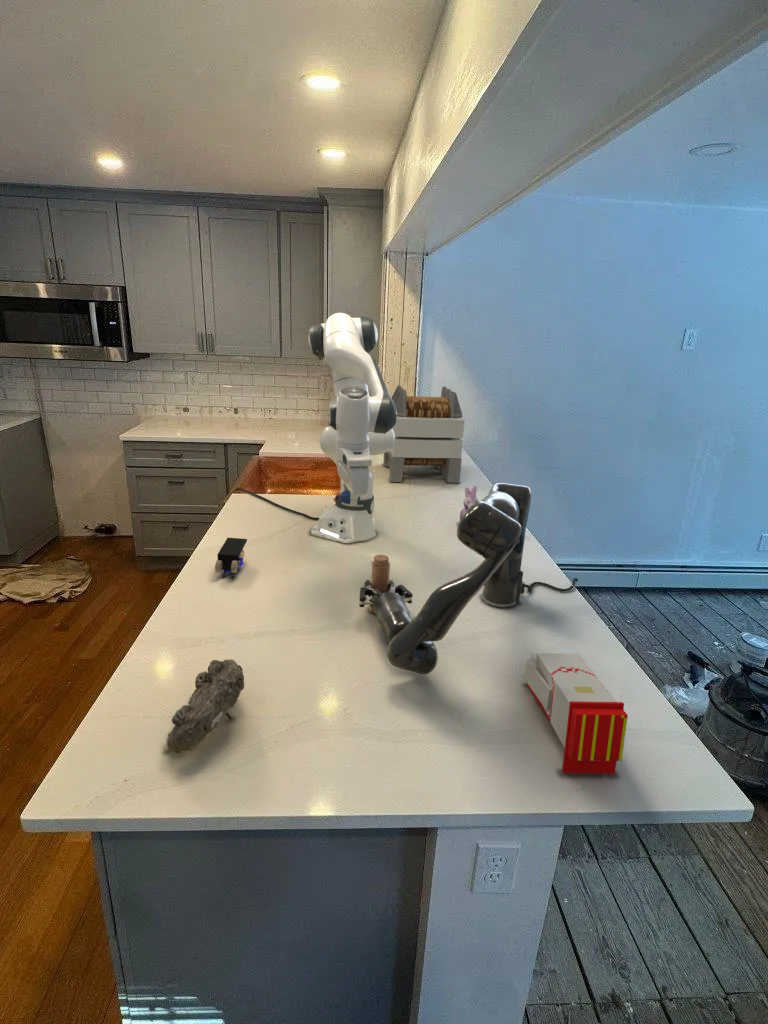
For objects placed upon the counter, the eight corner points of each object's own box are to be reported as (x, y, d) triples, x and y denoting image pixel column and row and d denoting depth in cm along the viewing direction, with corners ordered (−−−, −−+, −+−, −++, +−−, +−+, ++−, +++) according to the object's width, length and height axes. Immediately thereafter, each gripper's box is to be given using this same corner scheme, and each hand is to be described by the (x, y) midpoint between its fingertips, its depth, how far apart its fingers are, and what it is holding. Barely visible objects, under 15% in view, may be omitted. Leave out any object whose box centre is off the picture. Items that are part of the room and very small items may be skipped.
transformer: (382, 463, 289) (386, 382, 275) (445, 464, 293) (451, 384, 279) (390, 482, 257) (394, 392, 243) (460, 483, 261) (468, 394, 247)
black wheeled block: (238, 584, 162) (249, 557, 175) (236, 562, 158) (247, 536, 172) (215, 584, 161) (227, 556, 175) (212, 561, 158) (225, 535, 171)
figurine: (467, 532, 204) (471, 492, 198) (451, 522, 212) (455, 484, 207) (488, 528, 208) (493, 489, 203) (472, 519, 216) (476, 482, 211)
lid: (336, 498, 154) (336, 492, 153) (352, 495, 157) (353, 489, 156) (347, 504, 150) (347, 498, 149) (363, 501, 153) (364, 495, 152)
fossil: (192, 660, 117) (244, 628, 112) (224, 691, 120) (276, 661, 115) (142, 746, 98) (202, 712, 93) (182, 779, 101) (242, 748, 96)
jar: (391, 612, 148) (393, 559, 143) (374, 615, 146) (376, 562, 141) (382, 603, 152) (385, 552, 147) (366, 607, 150) (368, 555, 145)
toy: (573, 635, 123) (638, 710, 94) (567, 691, 126) (628, 782, 97) (518, 633, 123) (565, 709, 93) (513, 690, 125) (557, 781, 96)
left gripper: (332, 441, 157) (331, 489, 162) (349, 462, 139) (347, 515, 143) (354, 441, 158) (352, 488, 163) (373, 461, 140) (371, 513, 145)
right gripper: (423, 598, 134) (404, 567, 150) (364, 603, 131) (350, 571, 146) (421, 626, 137) (402, 593, 152) (363, 631, 133) (350, 597, 149)
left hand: (350, 501), depth 153 cm, fingers closed on lid, 5 cm apart
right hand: (377, 582), depth 149 cm, fingers closed on jar, 5 cm apart
